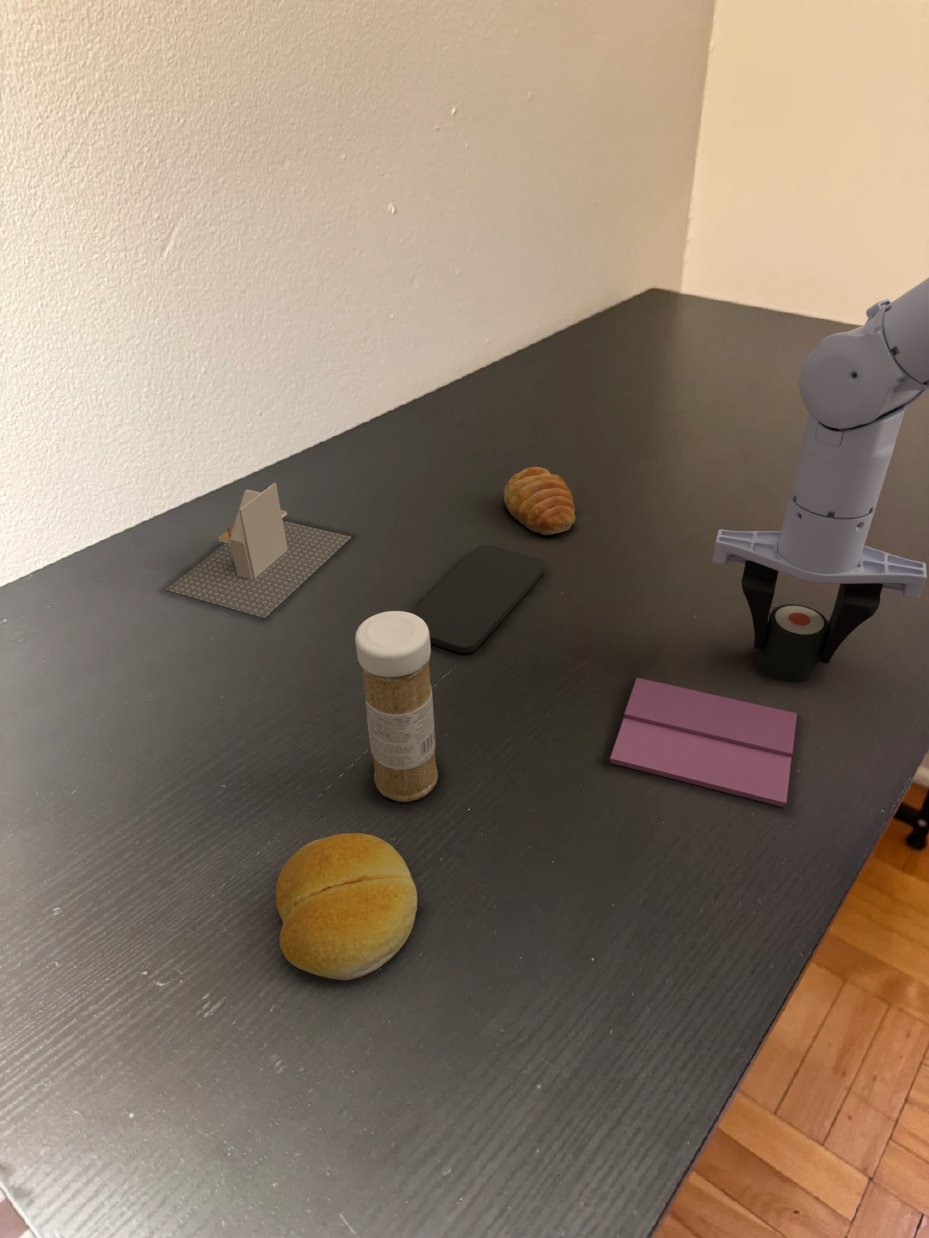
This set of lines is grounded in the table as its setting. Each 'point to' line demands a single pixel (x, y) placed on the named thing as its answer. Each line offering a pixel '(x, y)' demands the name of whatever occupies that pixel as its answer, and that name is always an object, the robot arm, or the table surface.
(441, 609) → the phone
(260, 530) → the architectural model
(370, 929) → the bread roll
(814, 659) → the sushi roll
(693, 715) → the napkin
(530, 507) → the pastry
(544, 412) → the table surface
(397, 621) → the spice jar
